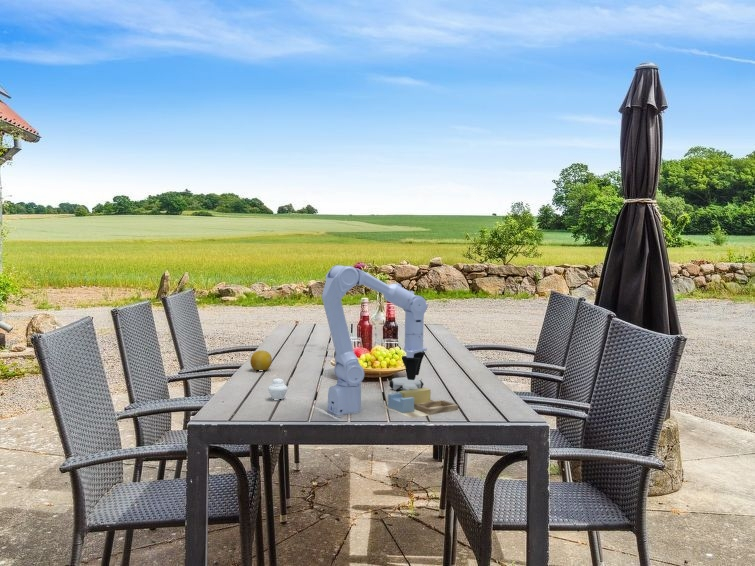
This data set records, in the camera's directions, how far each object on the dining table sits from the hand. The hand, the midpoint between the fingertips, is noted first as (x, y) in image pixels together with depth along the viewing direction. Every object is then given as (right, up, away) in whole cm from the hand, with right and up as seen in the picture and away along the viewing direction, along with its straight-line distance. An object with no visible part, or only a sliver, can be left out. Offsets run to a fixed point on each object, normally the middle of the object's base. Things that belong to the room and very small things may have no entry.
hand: (413, 377), depth 195 cm
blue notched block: (-4, -9, -6) cm, 11 cm away
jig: (+2, -10, -5) cm, 11 cm away
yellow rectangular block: (+1, -8, +1) cm, 8 cm away
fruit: (-58, -6, +56) cm, 81 cm away
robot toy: (-1, -9, +18) cm, 20 cm away
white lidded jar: (-43, -9, +9) cm, 45 cm away
